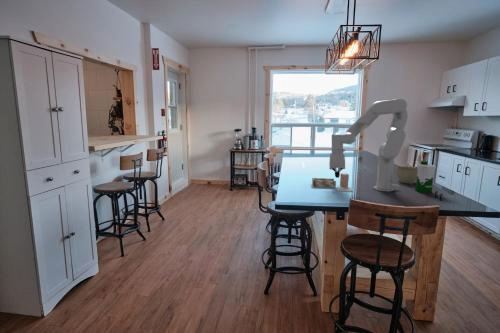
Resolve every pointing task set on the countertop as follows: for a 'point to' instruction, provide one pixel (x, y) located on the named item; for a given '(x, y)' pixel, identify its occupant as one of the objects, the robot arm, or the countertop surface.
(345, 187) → the tile pad
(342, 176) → the blank block
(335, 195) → the countertop surface
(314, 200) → the countertop surface
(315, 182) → the shelf bay
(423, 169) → the milk carton
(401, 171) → the planter bowl
